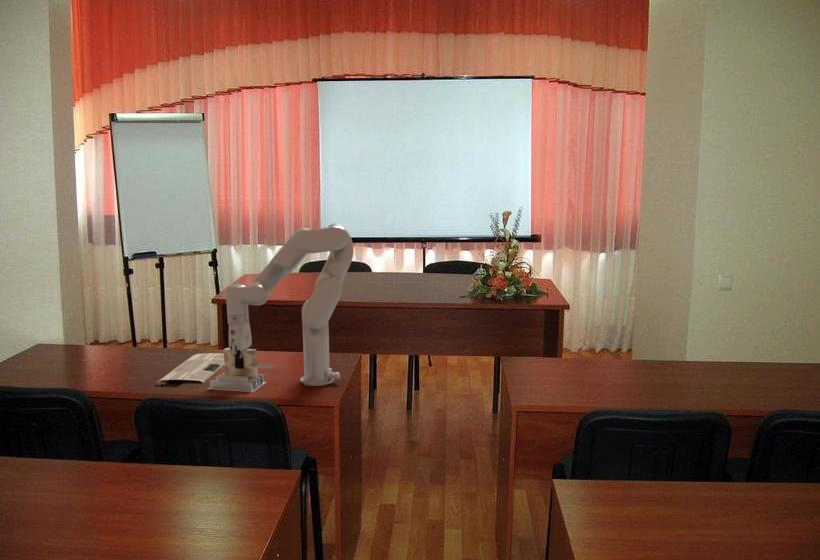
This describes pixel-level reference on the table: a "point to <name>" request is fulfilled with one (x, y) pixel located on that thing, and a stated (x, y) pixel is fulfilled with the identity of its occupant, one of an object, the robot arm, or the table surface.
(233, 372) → the birch sheet
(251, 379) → the slot rack
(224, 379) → the offcut block
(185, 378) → the newspaper
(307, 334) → the robot arm
